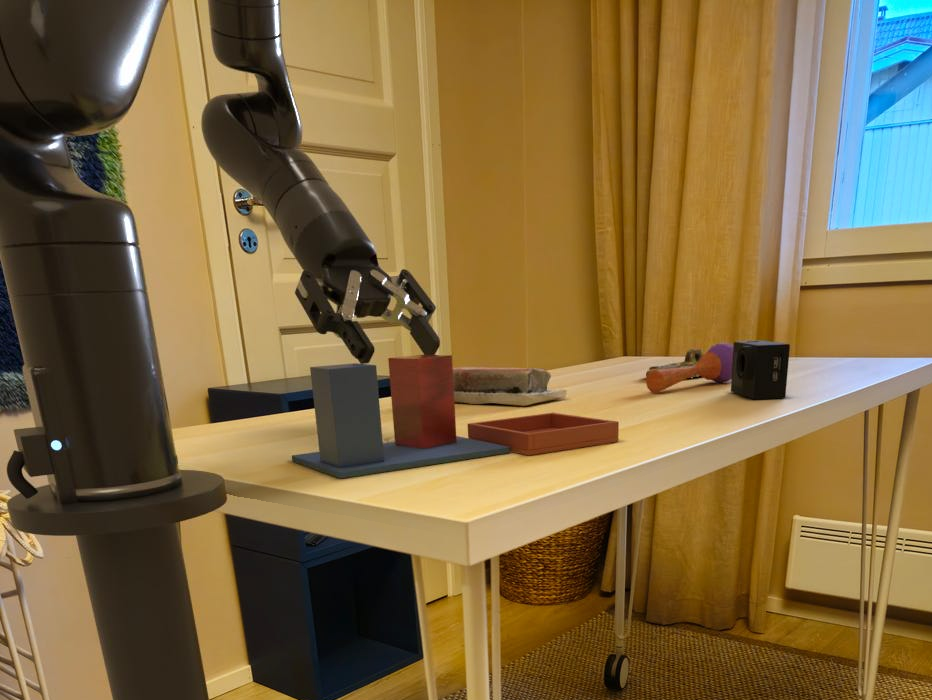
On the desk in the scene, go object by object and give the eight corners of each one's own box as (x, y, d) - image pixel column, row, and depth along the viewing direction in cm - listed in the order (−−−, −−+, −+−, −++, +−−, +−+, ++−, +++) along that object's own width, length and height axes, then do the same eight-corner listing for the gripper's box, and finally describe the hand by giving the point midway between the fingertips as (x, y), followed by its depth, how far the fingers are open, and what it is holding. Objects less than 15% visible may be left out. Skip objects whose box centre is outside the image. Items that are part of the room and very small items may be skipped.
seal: (676, 388, 141) (722, 378, 151) (680, 358, 139) (726, 350, 149) (630, 379, 147) (677, 371, 156) (633, 351, 144) (680, 344, 154)
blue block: (339, 468, 77) (329, 369, 73) (320, 461, 80) (309, 366, 77) (384, 461, 79) (376, 365, 76) (364, 455, 82) (355, 363, 79)
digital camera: (721, 392, 123) (724, 341, 121) (759, 390, 124) (763, 339, 121) (744, 400, 114) (748, 345, 111) (785, 398, 114) (790, 343, 111)
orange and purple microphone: (635, 364, 127) (714, 344, 139) (642, 404, 129) (719, 381, 140) (667, 357, 123) (746, 337, 134) (674, 399, 124) (751, 375, 136)
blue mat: (340, 478, 75) (339, 471, 75) (291, 461, 85) (291, 455, 84) (510, 452, 84) (509, 446, 83) (448, 439, 93) (448, 434, 93)
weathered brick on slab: (428, 368, 126) (471, 363, 133) (430, 402, 128) (472, 395, 135) (526, 370, 115) (567, 364, 122) (526, 407, 117) (567, 399, 124)
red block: (423, 448, 84) (417, 358, 81) (394, 445, 87) (388, 358, 84) (456, 442, 87) (452, 355, 84) (428, 439, 90) (422, 354, 87)
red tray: (528, 455, 82) (528, 434, 81) (468, 442, 91) (467, 423, 90) (618, 441, 87) (618, 421, 86) (553, 430, 96) (552, 412, 95)
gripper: (276, 205, 83) (359, 330, 79) (391, 210, 92) (470, 322, 88) (256, 268, 88) (332, 387, 85) (366, 266, 97) (439, 374, 94)
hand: (402, 354), depth 86 cm, fingers open, 8 cm apart
